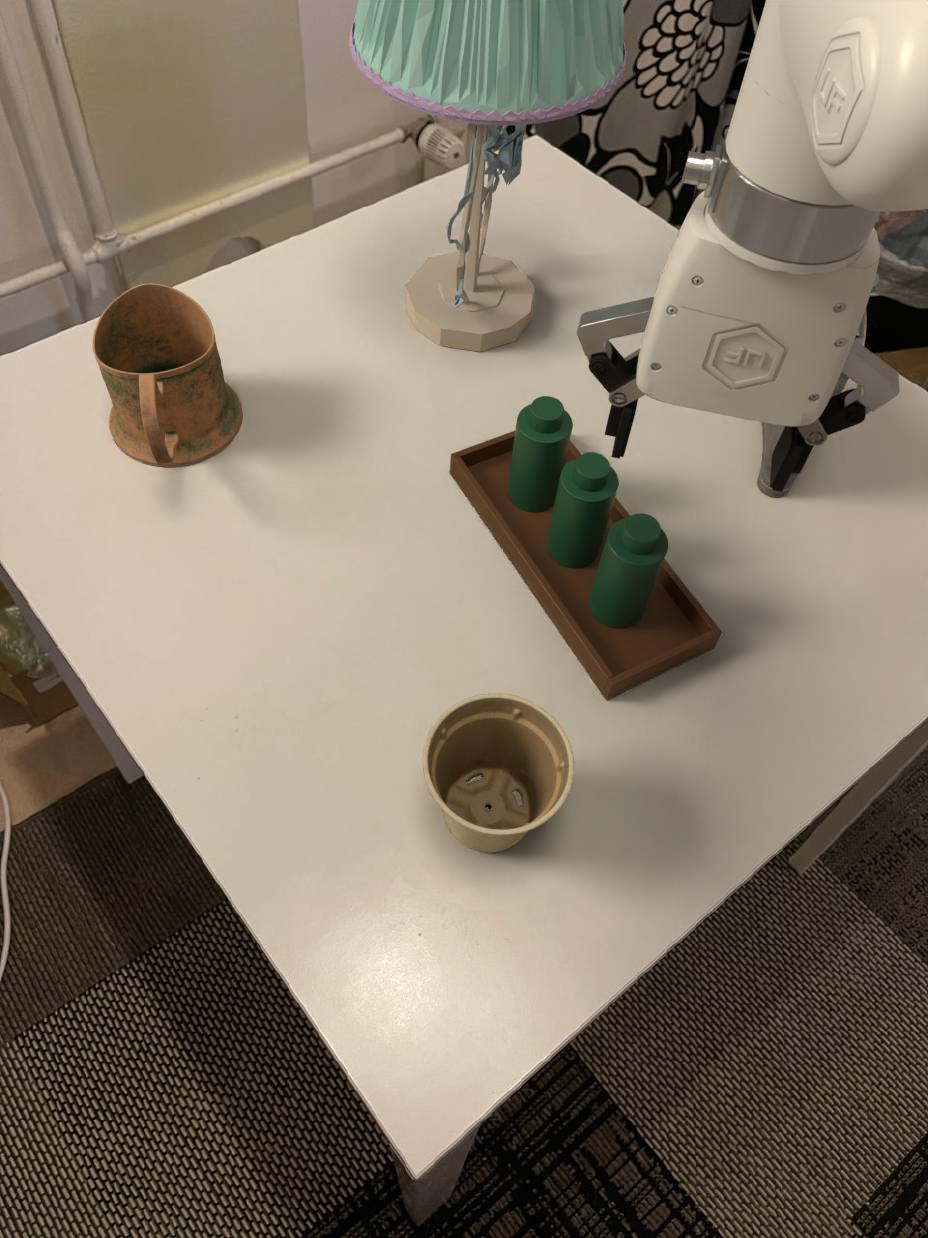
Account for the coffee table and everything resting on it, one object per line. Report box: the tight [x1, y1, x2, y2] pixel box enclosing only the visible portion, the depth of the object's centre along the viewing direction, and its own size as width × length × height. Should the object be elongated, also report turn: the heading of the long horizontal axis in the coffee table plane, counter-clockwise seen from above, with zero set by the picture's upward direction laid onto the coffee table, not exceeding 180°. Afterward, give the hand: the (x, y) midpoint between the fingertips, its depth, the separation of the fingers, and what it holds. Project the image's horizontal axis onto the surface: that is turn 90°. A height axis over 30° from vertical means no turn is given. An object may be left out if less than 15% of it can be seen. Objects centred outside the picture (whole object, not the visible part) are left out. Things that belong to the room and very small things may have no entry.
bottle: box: [588, 512, 669, 628], centre depth 69 cm, size 4×4×10 cm
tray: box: [449, 430, 724, 701], centre depth 75 cm, size 25×10×2 cm, turn 28°
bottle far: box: [507, 395, 574, 512], centre depth 75 cm, size 4×4×10 cm
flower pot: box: [422, 692, 575, 853], centre depth 60 cm, size 9×9×9 cm
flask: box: [756, 272, 880, 499], centre depth 77 cm, size 4×14×18 cm, turn 171°
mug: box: [92, 282, 243, 468], centre depth 76 cm, size 12×18×12 cm, turn 11°
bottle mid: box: [546, 451, 620, 568], centre depth 72 cm, size 4×4×10 cm
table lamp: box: [348, 0, 628, 353], centre depth 76 cm, size 22×22×40 cm
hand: (697, 458), depth 56 cm, fingers open, 9 cm apart
